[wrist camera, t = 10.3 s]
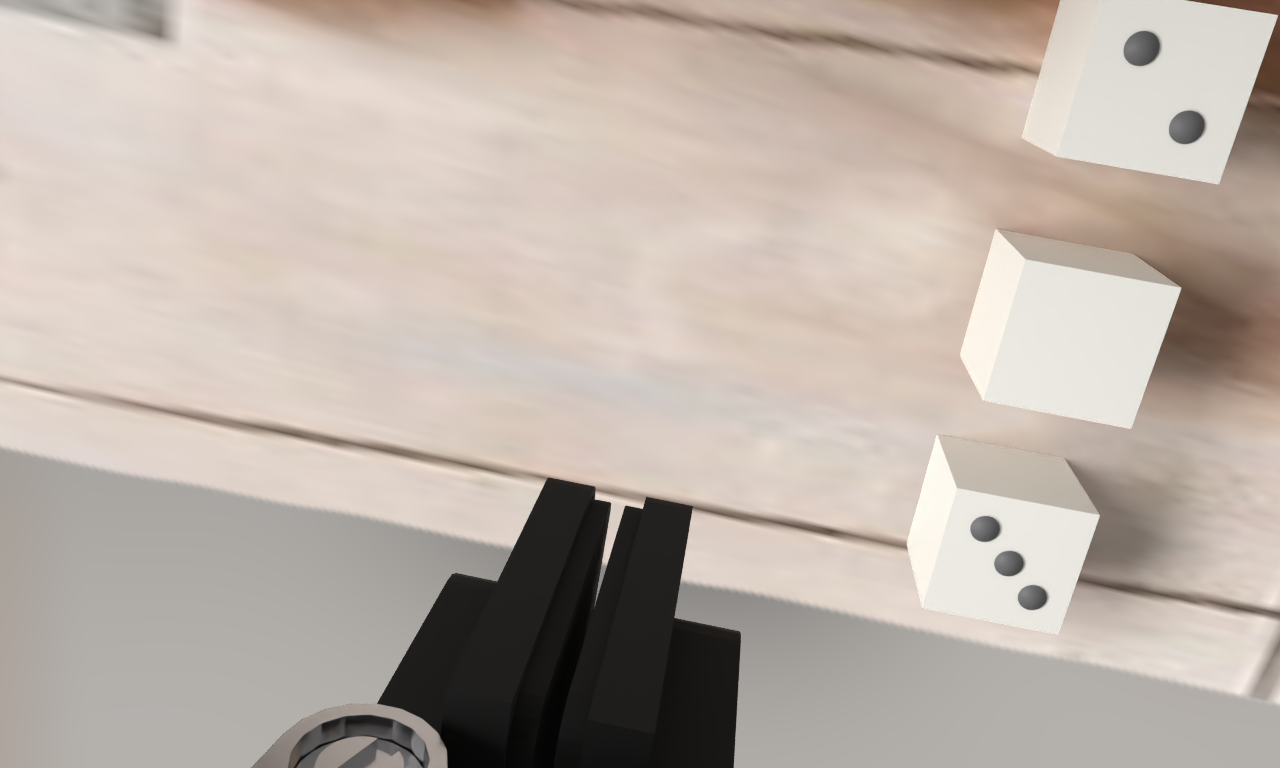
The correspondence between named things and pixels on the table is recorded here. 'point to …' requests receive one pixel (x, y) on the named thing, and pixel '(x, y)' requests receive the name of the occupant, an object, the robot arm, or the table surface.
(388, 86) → the table surface
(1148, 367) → the plain block
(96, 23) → the table surface
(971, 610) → the three dot block
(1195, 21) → the two dot block
